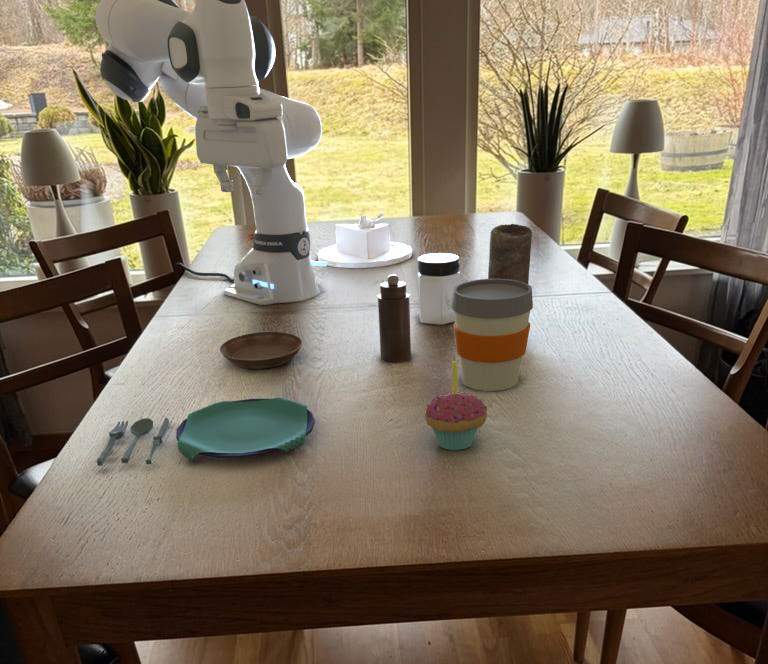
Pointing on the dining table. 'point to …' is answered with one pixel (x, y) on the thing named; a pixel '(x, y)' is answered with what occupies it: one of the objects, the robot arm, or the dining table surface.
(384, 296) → the pepper mill
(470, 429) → the cupcake
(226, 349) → the saucer
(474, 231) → the dining table surface
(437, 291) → the jar
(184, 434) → the cutlery set
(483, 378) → the reusable coffee cup
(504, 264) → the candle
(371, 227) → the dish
